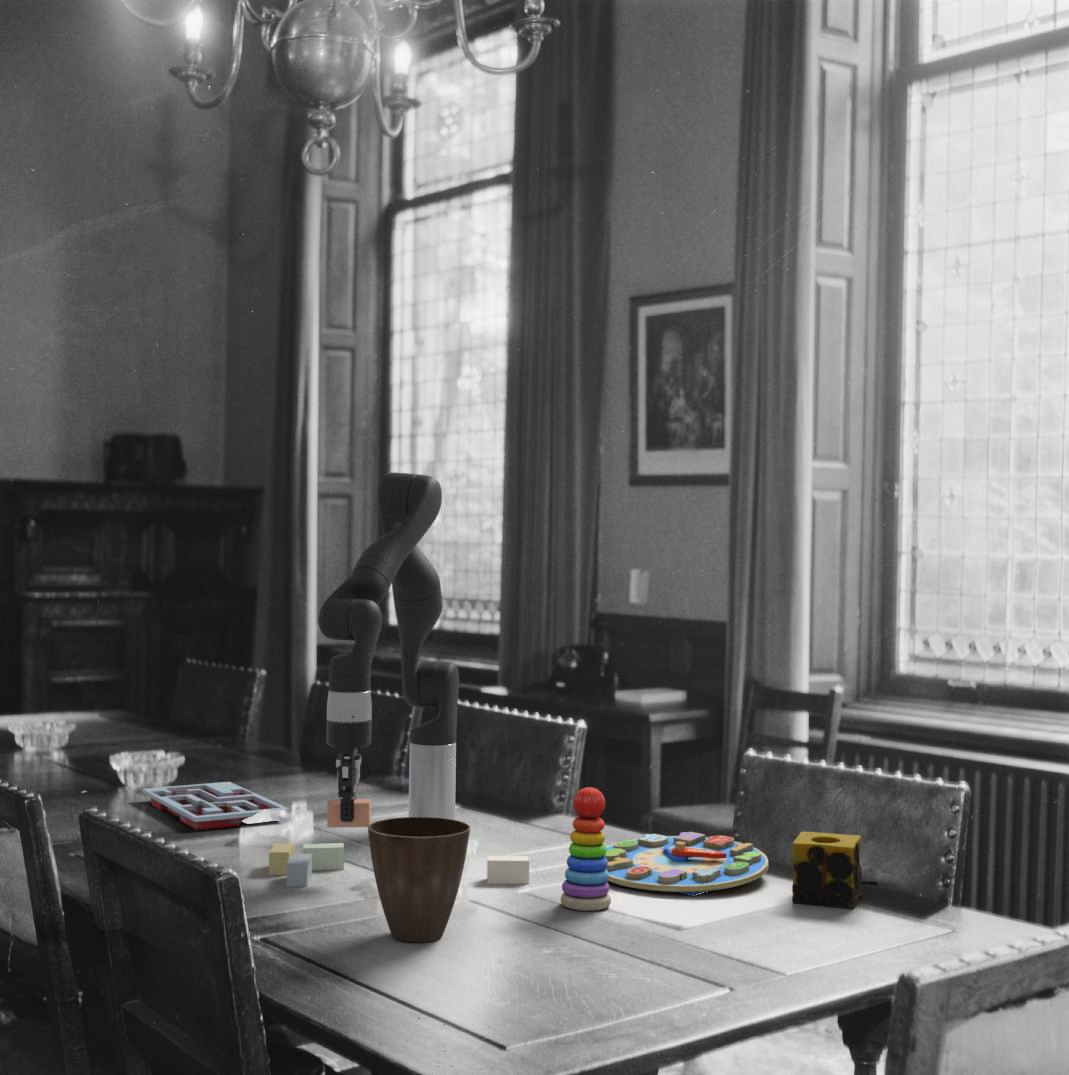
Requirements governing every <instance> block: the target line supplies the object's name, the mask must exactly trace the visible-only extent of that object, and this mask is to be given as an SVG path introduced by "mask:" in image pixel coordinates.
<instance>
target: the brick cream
mask: <svg viewBox="0 0 1069 1075" xmlns="http://www.w3.org/2000/svg"><path fill="white" fill-rule="evenodd" d="M486 860H487V868H486V880H487V883H486V884H496V885H498V884H500V885H501V884H502V885H503V884H504V885H505V884H507V885H508V884H510V885H511V884H512V885H513V884H514V885H516V884H517V885H528V884H530V857H529V856H525V855H519V856H518V855H517V856H516V855H514V856H513V855H487V858H486Z"/></svg>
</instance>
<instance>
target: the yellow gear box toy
mask: <svg viewBox="0 0 1069 1075" xmlns="http://www.w3.org/2000/svg"><path fill="white" fill-rule="evenodd" d="M861 843H862V836H861V835H859V834H857V835H856V834H844V833H832V832H830V833H828V832H818V831H801V832H800V833H799V834H798V836H797V837H796V838H795V839H794V840H793V842H792V861H791V862H792V865H793V876H792V879H793V880H792V881H793V882H792V887H791V888H792V889H791V892H792V897H791V898H792V899H791V902H792V901H793V902H792V903H794V902H796V903H795V904H798V903H801V904H800V905H810V904H812V906H819V905H823V906H822V907H829V908H830V907H832V908H841V909H855V907H856V906H857V905H858V903H859V901H860V897H861V896H862V893H863V891H862V890H863V888H862V887H863V885H862V879H863V875H862V867H861V865H860V858H861V857H860V852H861Z"/></svg>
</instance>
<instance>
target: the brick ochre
mask: <svg viewBox="0 0 1069 1075" xmlns="http://www.w3.org/2000/svg"><path fill="white" fill-rule="evenodd" d="M291 854H295V843H277V842H275V843H274V844H273V845H272V847H271V849H270V850H269V851H268V875H269V876H287V862H288V860H289V858H290V856H291Z"/></svg>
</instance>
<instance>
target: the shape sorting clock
mask: <svg viewBox="0 0 1069 1075" xmlns="http://www.w3.org/2000/svg"><path fill="white" fill-rule="evenodd" d="M605 846H606V845H605ZM606 849H607V851H606V854H605V856H604V857H605V858H606V859H607V861H608V865H607V867H606V869H607V871H608V872H609V878H608V880H607V881H606V882H609V883H612V884H616V885H619V886H623V887H628V888H633V889H638V890H639V889H640V890H647V891H656V892H657V891H658V892H671V893H672V892H673V893H674V892H675V893H678V892H682V893H681V894H683V893H685V894H684V895H687V894H690V895H689V896H691V895H696V894H699V893H702V892H706V891H709V892H711V891H710V890H712V891H718V890H723V889H729V888H734V887H738V886H742V885H745V884H748V883H751V882H753V881H755V880H757V879H760V878H761V877H762V876H764V875H765V874H766V873H767V872H768V870H769V859H768V856H767V855H766V854H765V853H764V852H763V851H761V850H760V849H758V848H756V847H754V843H750V842H746V843H745V842H744V843H742V842H739V841H735V838H734V837H731V836H728V835H727V836H726V835H720V834H719V835H711V836H708V837H707V836H706V834H704V833H700V832H694V831H688V832H687V831H686V832H685V831H682V832H680V833H679V834H678V835H663V834H658V833H651V834H649V833H646V834H643V835H642V837H640V838H635V839H634V838H633V839H630V840H622V841H620V842H619V841H618V842H616V843H612V844H610V845H607V846H606ZM706 893H707V892H706ZM702 894H703V893H702ZM699 895H700V894H699ZM696 896H697V895H696Z"/></svg>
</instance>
